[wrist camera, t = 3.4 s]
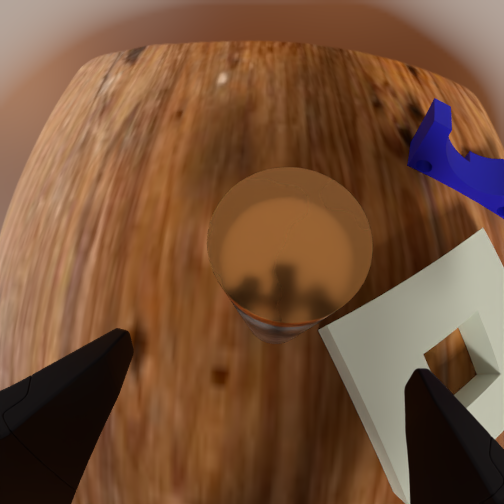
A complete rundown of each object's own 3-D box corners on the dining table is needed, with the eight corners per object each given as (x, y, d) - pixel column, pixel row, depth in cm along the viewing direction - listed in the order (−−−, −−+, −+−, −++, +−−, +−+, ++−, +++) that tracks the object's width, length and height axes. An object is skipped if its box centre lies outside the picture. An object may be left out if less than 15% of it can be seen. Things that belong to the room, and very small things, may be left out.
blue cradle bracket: (505, 186, 21) (536, 155, 16) (506, 222, 20) (544, 193, 14) (411, 133, 23) (434, 88, 18) (406, 166, 22) (434, 120, 16)
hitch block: (393, 492, 14) (409, 507, 11) (317, 329, 18) (327, 325, 15) (519, 383, 15) (542, 383, 12) (462, 242, 19) (482, 227, 17)
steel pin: (261, 353, 18) (248, 352, 6) (238, 302, 19) (184, 203, 7) (313, 328, 18) (401, 274, 6) (288, 278, 19) (321, 148, 7)
